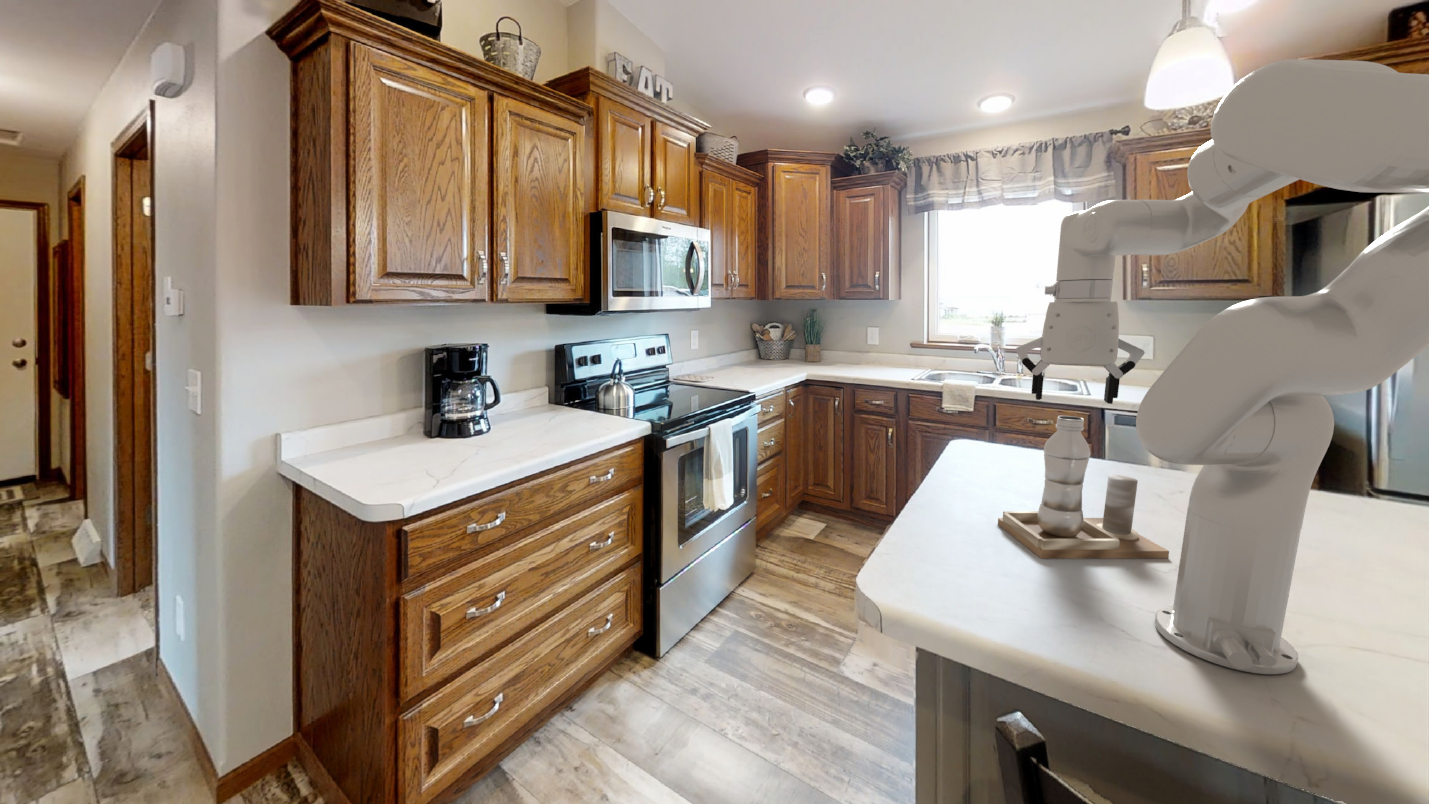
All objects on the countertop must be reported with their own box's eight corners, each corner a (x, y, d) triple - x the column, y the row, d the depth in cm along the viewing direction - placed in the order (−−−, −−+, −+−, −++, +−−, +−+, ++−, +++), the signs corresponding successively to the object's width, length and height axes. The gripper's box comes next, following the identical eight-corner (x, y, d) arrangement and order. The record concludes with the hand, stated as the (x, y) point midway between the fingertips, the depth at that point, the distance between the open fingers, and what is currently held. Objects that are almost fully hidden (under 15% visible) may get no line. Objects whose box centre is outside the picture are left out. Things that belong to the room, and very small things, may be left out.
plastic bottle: (1088, 543, 92) (1103, 422, 89) (1043, 540, 94) (1055, 421, 90) (1072, 528, 98) (1085, 414, 95) (1030, 525, 100) (1040, 413, 96)
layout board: (1041, 558, 90) (1047, 492, 88) (997, 524, 103) (1002, 467, 101) (1168, 558, 89) (1177, 492, 88) (1107, 524, 103) (1114, 466, 101)
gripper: (1021, 293, 90) (1012, 400, 92) (1156, 291, 82) (1143, 407, 85) (1019, 294, 96) (1011, 394, 99) (1144, 292, 89) (1132, 400, 91)
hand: (1072, 400), depth 92 cm, fingers open, 9 cm apart
